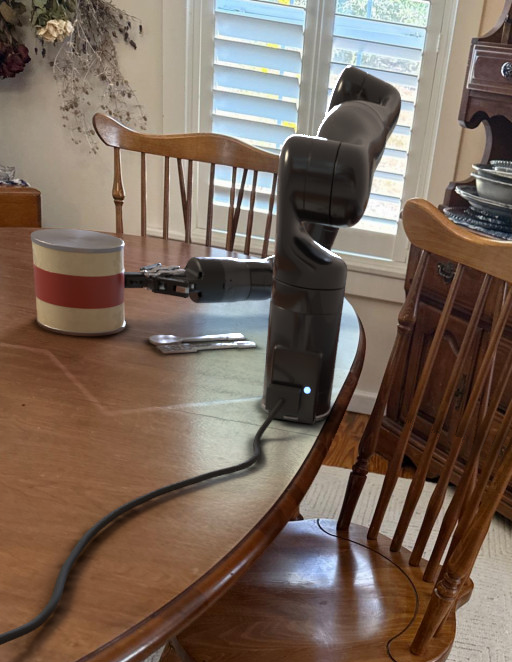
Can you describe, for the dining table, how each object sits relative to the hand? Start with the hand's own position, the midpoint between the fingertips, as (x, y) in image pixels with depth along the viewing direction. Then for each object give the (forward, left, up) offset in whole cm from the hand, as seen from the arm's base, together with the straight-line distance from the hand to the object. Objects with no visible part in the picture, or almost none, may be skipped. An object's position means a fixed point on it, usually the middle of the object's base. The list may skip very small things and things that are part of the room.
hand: (119, 280), depth 124 cm
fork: (-7, -16, -7) cm, 19 cm away
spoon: (-4, -14, -7) cm, 16 cm away
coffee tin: (-5, +4, -7) cm, 9 cm away
